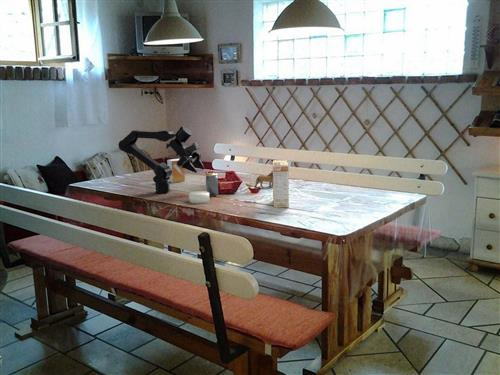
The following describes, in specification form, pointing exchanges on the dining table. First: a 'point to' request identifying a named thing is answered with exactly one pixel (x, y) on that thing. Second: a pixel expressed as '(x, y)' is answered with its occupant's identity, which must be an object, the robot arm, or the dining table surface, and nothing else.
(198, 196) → the ceramic trivet
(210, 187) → the grey tin
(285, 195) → the coffeecake box
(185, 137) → the robot arm
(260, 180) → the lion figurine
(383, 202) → the dining table surface
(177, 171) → the small box
